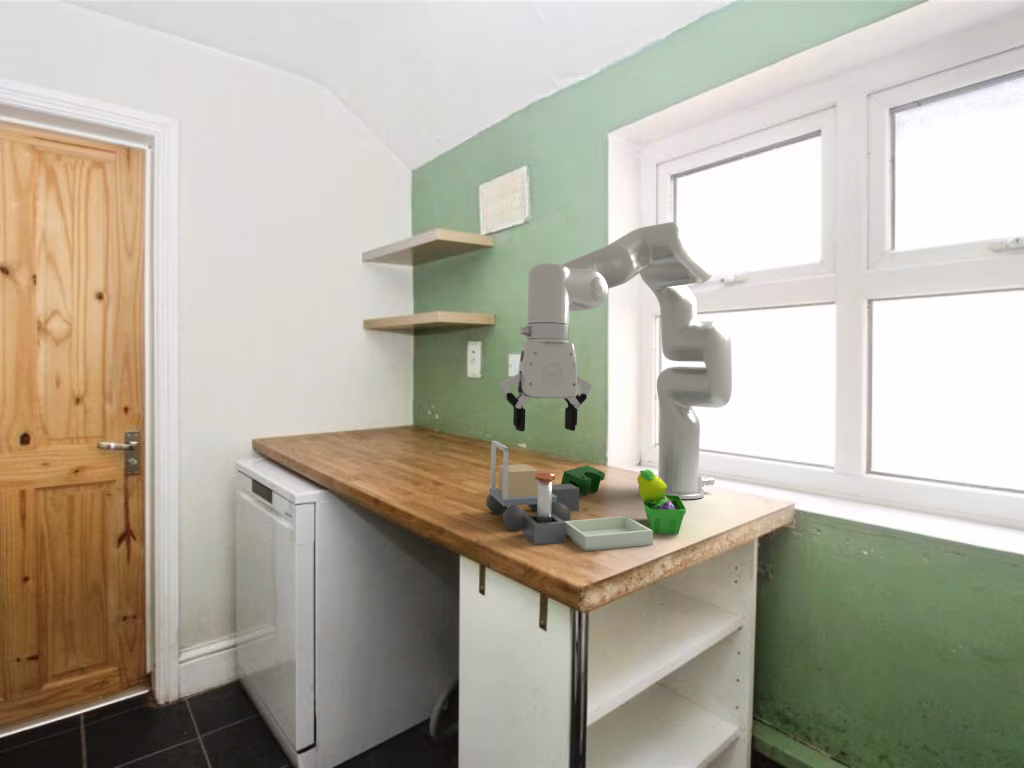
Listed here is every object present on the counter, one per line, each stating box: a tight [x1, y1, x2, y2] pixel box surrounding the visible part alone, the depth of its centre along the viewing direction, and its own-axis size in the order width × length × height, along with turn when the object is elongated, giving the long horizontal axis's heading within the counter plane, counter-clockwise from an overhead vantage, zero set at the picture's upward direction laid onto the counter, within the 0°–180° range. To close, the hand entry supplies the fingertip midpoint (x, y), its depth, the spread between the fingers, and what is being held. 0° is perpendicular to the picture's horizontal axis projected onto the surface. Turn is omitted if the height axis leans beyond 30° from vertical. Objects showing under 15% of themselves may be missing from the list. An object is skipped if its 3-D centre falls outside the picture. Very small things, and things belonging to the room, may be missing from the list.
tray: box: [564, 515, 654, 552], centre depth 96 cm, size 13×9×2 cm
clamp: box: [560, 464, 606, 497], centre depth 132 cm, size 12×6×9 cm, turn 135°
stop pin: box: [535, 470, 556, 523], centre depth 96 cm, size 4×4×12 cm
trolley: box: [485, 440, 572, 532], centre depth 108 cm, size 13×14×16 cm
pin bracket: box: [522, 514, 567, 546], centre depth 96 cm, size 6×6×4 cm
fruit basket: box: [637, 469, 687, 535], centre depth 105 cm, size 11×9×11 cm
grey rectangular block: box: [552, 483, 580, 512], centre depth 116 cm, size 6×4×5 cm
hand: (545, 430), depth 95 cm, fingers open, 9 cm apart
